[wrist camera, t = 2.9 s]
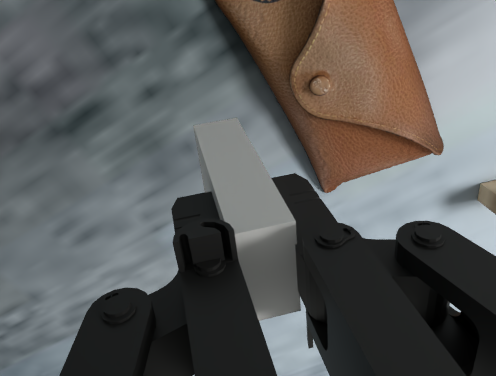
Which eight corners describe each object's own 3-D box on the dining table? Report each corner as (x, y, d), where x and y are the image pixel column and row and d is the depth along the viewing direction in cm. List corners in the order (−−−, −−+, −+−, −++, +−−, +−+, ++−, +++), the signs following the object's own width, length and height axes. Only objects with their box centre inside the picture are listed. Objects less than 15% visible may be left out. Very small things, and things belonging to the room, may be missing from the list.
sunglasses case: (173, -43, 22) (260, -88, 17) (257, -113, 25) (355, -171, 20) (327, 201, 32) (412, 219, 27) (376, 132, 34) (464, 136, 29)
